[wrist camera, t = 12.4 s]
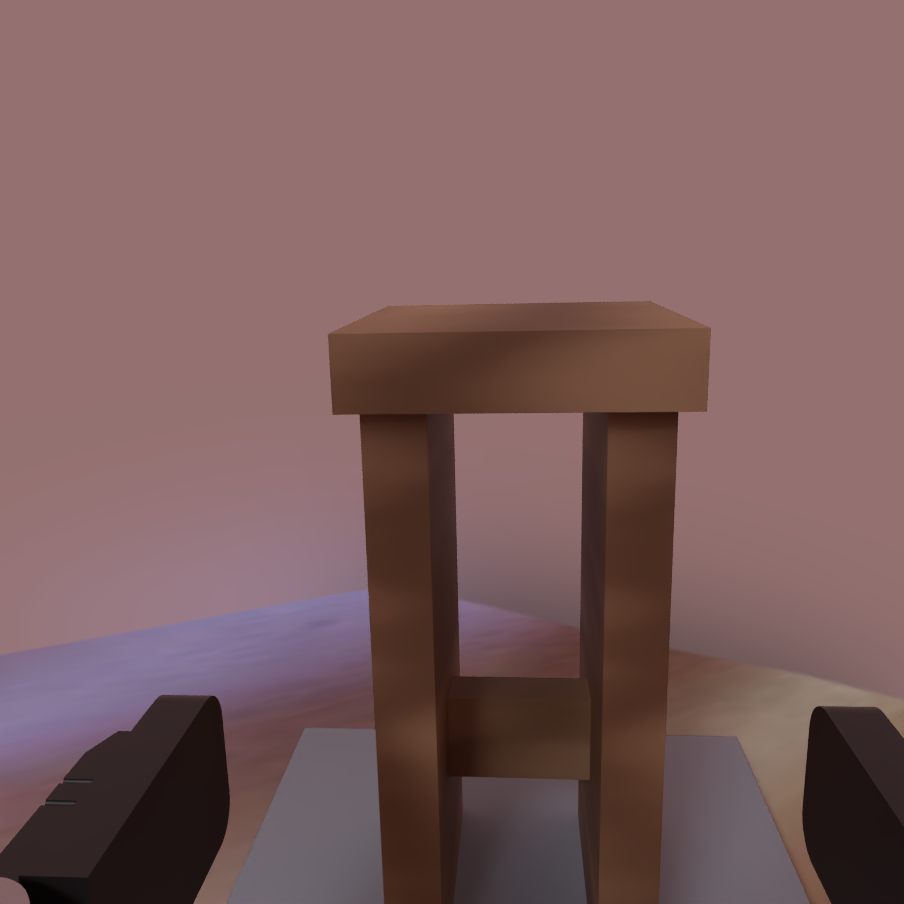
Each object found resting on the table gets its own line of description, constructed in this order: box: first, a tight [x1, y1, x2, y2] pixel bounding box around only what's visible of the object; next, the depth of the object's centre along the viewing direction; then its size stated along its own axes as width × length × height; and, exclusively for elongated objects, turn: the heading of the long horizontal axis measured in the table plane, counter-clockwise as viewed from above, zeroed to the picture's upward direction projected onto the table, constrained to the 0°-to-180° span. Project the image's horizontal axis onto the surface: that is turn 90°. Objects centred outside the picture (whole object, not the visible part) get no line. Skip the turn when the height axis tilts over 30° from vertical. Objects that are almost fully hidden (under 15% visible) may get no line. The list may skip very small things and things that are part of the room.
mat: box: [227, 728, 810, 904], centre depth 21 cm, size 14×14×1 cm
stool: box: [328, 301, 711, 904], centre depth 19 cm, size 6×7×14 cm
